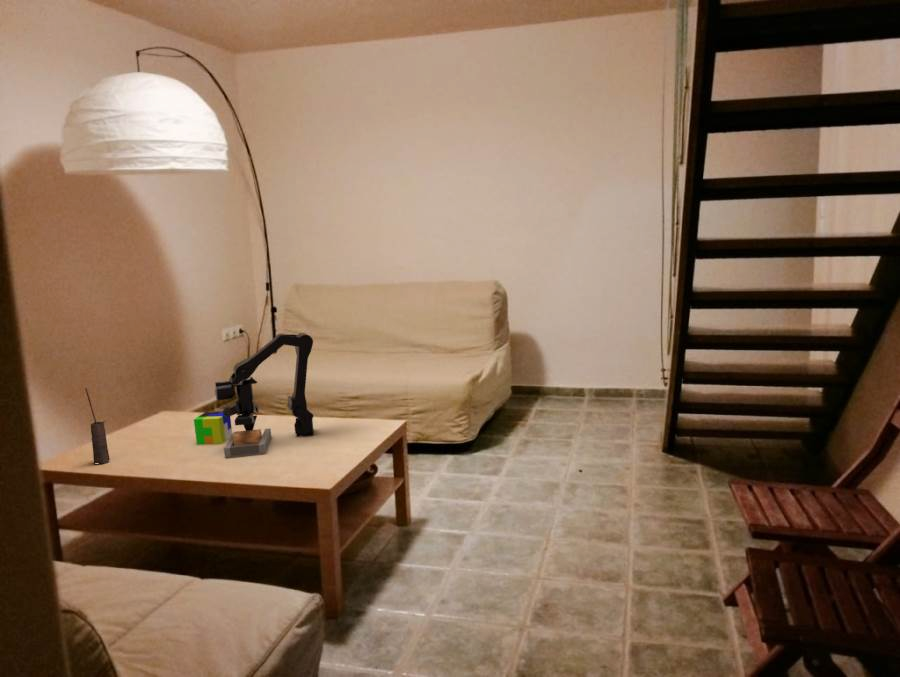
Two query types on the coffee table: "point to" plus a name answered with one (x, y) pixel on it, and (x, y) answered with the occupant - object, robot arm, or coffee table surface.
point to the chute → (248, 446)
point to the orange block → (247, 437)
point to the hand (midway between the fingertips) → (249, 436)
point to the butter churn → (98, 439)
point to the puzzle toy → (212, 428)
